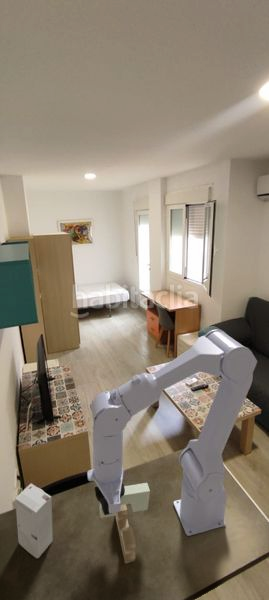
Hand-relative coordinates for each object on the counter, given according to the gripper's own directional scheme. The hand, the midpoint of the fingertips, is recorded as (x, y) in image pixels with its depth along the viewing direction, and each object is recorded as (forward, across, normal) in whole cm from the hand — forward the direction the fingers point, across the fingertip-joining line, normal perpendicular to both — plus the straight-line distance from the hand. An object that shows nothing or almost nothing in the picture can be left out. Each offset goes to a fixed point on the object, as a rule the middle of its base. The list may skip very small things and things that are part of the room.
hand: (108, 506), depth 60 cm
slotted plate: (+2, 0, +3) cm, 4 cm away
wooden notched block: (+8, +1, +3) cm, 9 cm away
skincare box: (+9, -3, -15) cm, 17 cm away
